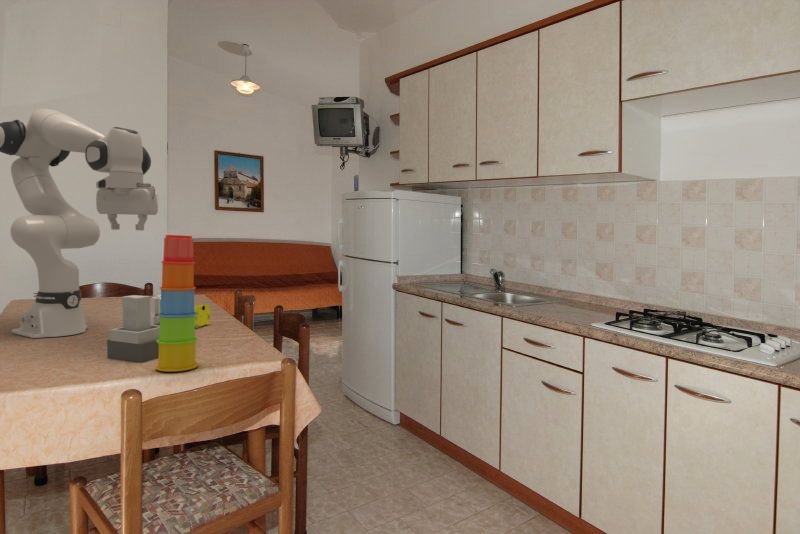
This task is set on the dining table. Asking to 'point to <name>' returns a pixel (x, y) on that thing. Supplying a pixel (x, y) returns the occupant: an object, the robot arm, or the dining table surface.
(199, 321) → the yellow toy chassis
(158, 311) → the beer glass
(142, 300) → the skincare box
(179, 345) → the stacking cups
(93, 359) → the dining table surface
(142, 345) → the grey open cubby box
